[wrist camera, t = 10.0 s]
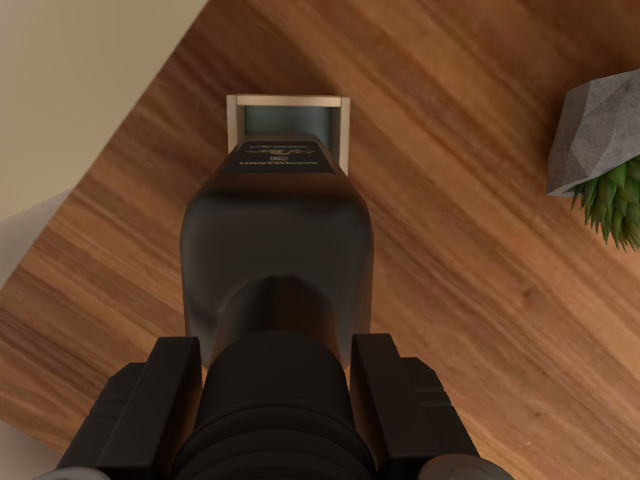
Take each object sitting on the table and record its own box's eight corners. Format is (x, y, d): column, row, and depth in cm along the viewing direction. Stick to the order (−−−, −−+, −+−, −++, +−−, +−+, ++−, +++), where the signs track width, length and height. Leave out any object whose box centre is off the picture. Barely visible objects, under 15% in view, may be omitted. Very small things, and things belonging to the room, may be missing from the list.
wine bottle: (237, 131, 33) (-66, 417, 4) (323, 131, 33) (565, 394, 5) (241, 215, 35) (38, 820, 6) (322, 214, 35) (498, 778, 6)
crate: (242, 276, 49) (234, 314, 40) (237, 93, 44) (226, 94, 35) (333, 275, 49) (343, 312, 41) (338, 95, 44) (350, 97, 36)
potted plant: (718, 65, 42) (732, 240, 43) (557, 101, 50) (570, 248, 51) (719, 30, 33) (737, 255, 33) (520, 81, 41) (536, 262, 41)
